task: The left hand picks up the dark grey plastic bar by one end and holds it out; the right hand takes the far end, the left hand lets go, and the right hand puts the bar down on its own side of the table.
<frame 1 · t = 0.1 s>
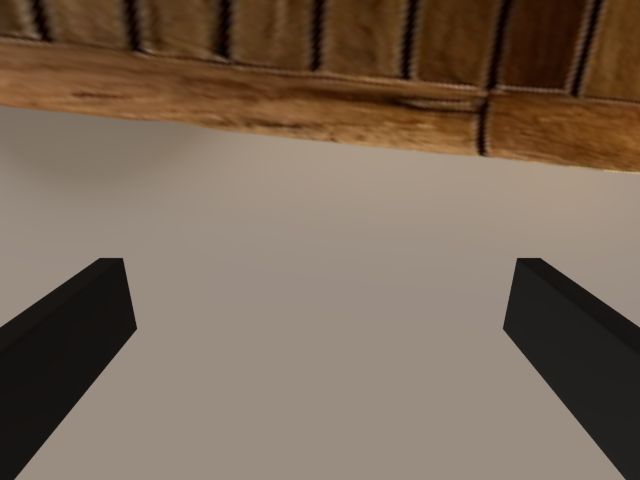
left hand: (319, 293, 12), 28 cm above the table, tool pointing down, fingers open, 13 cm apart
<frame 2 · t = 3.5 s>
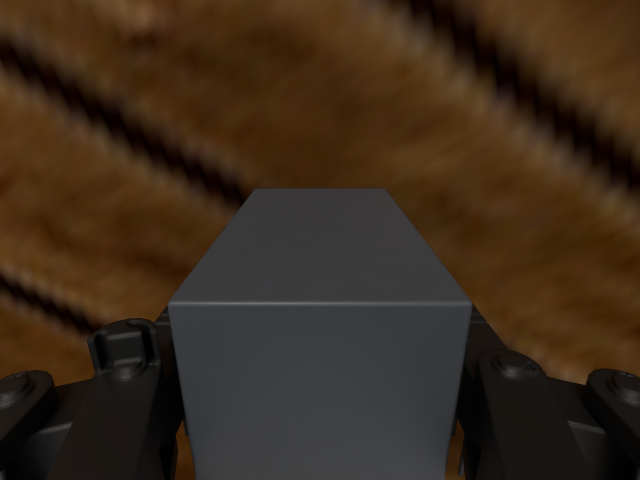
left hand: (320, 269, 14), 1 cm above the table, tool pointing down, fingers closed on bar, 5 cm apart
bar: (320, 425, 18), on the table, touching left hand
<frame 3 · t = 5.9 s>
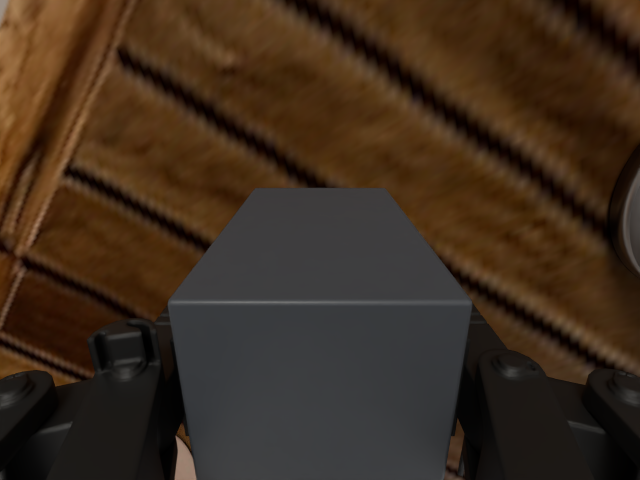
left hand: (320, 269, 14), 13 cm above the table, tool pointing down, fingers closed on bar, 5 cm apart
anatomical model: (141, 466, 35), on the table
bar: (320, 425, 18), point 12 cm above the table, touching left hand
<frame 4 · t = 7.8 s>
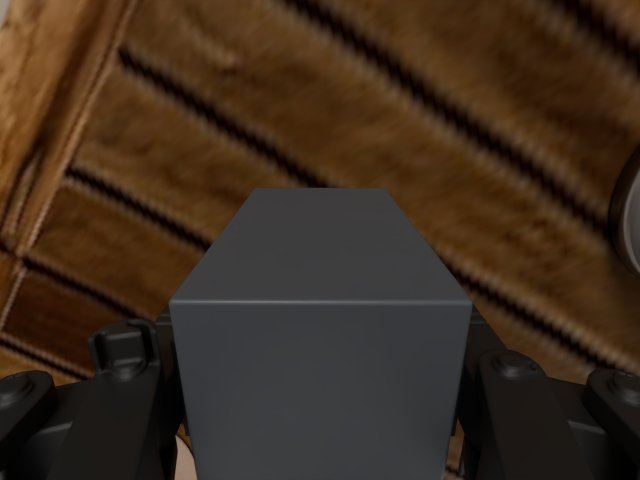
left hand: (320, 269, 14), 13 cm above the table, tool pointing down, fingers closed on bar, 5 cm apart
anatomical model: (142, 466, 35), on the table
bar: (319, 424, 18), point 12 cm above the table, touching left hand, right hand
when the left hand's fingers open (13 cm above the table, at t = 8.7 s): bar stays where it is, held by the right hand.
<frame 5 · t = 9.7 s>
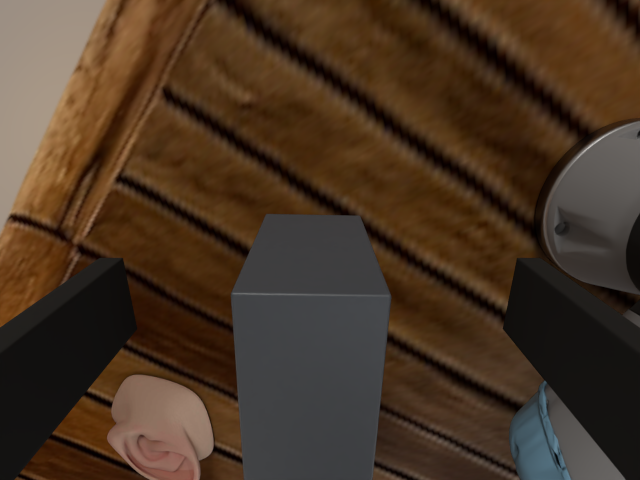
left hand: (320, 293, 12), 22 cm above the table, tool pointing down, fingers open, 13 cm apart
anatomical model: (164, 418, 43), on the table
bar: (310, 392, 23), point 15 cm above the table, touching right hand
when the right hand's fingers open (4 cm above the table, at t = 18.0 s): bar drops 1 cm, on the table.
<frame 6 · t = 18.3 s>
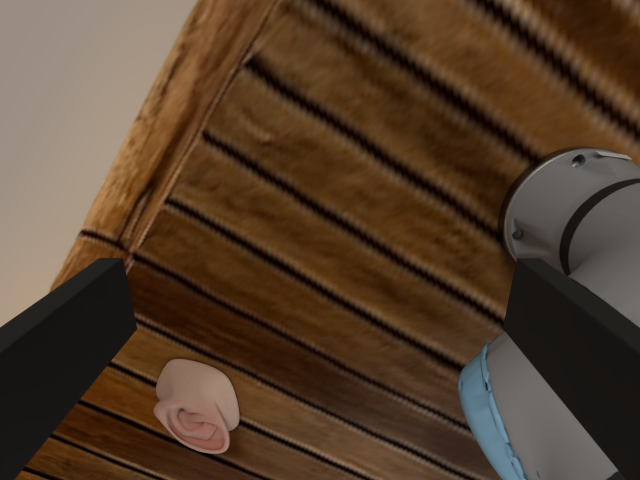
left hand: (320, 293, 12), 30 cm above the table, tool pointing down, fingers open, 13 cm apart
anatomical model: (198, 396, 52), on the table
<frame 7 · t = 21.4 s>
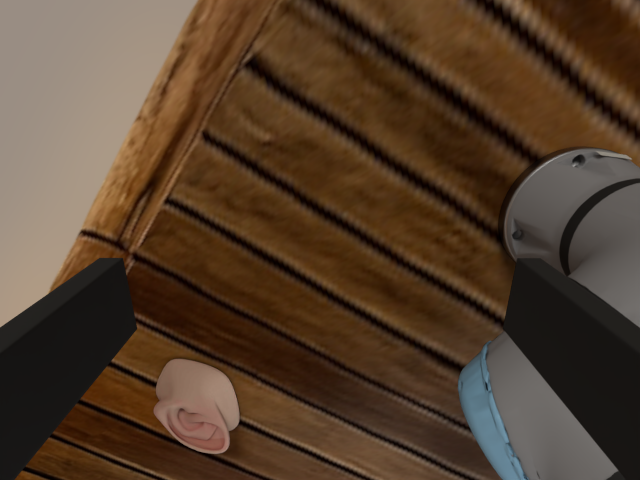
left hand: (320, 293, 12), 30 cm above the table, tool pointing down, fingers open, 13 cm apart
anatomical model: (198, 396, 52), on the table
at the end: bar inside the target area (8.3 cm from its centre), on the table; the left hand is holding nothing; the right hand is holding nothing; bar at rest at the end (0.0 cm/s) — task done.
